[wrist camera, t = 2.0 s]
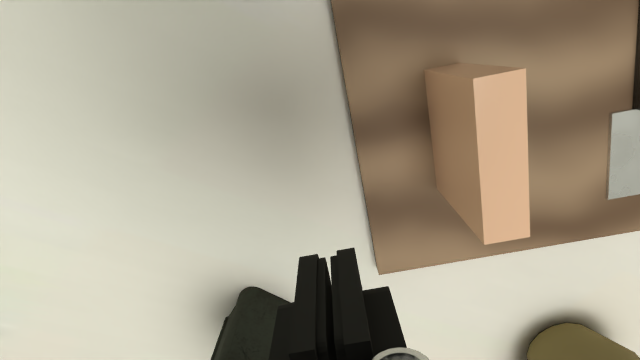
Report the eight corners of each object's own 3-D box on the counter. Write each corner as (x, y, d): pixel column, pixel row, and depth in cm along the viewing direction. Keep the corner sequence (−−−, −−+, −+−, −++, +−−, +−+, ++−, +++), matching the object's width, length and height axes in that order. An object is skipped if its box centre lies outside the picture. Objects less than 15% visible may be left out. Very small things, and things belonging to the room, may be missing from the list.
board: (327, -15, 23) (328, -19, 22) (687, -95, 22) (707, -103, 21) (376, 266, 29) (379, 274, 28) (658, 217, 28) (672, 224, 27)
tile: (423, 70, 24) (473, 78, 16) (460, 62, 23) (527, 67, 16) (436, 188, 26) (484, 245, 18) (469, 182, 26) (531, 236, 18)
